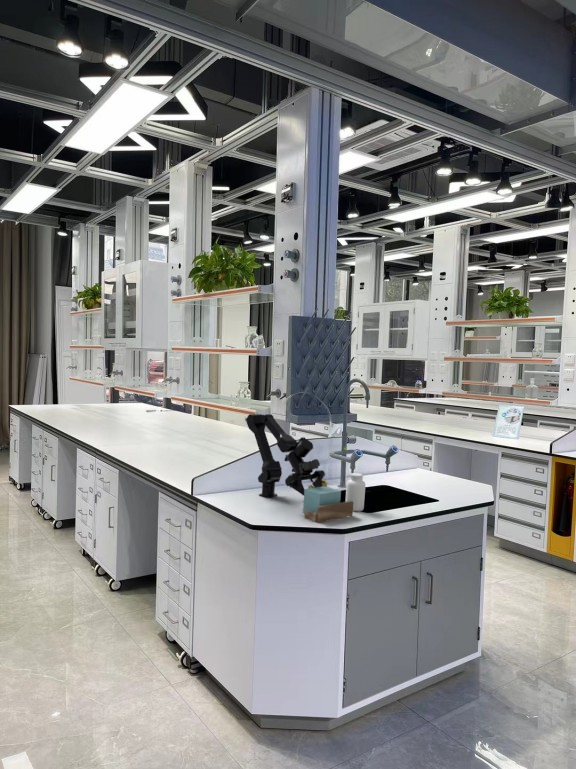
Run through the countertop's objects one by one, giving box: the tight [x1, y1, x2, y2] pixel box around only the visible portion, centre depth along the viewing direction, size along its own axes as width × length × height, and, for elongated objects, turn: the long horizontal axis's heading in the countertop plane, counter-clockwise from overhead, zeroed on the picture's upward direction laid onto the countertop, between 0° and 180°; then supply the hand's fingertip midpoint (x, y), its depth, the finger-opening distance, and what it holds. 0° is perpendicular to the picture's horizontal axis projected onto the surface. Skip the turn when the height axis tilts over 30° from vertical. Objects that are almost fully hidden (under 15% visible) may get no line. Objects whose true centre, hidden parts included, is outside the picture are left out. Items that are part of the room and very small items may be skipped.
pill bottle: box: [344, 472, 366, 512], centre depth 242 cm, size 8×8×15 cm
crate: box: [302, 486, 342, 515], centre depth 230 cm, size 9×12×10 cm
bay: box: [303, 501, 354, 524], centre depth 227 cm, size 8×20×6 cm, turn 131°
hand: (314, 495), depth 234 cm, fingers open, 9 cm apart
